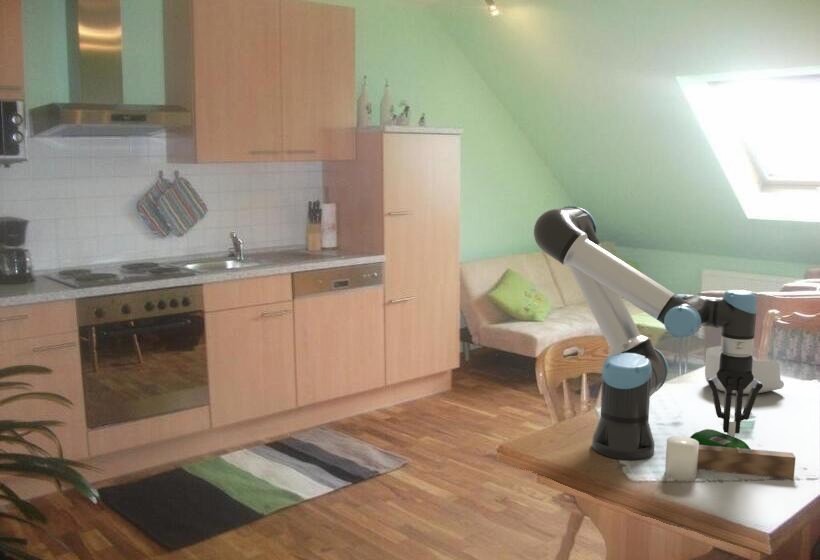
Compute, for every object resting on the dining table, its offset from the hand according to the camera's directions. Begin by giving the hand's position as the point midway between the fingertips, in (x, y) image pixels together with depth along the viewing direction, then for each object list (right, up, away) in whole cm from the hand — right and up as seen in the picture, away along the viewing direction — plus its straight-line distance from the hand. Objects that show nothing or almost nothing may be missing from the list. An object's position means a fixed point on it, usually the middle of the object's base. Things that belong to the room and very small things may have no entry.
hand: (730, 444), depth 205 cm
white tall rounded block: (-17, -4, -15) cm, 23 cm away
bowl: (+23, +7, +53) cm, 58 cm away
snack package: (-4, -2, -3) cm, 5 cm away
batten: (-2, -4, -13) cm, 14 cm away
